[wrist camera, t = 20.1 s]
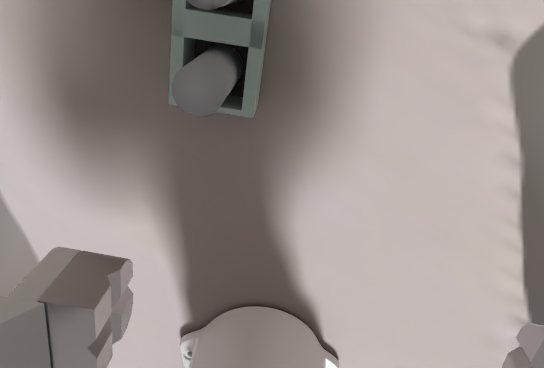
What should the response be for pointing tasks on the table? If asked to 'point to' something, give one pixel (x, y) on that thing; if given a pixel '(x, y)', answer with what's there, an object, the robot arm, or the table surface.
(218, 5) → the grey metal cylinder
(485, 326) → the table surface
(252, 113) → the rack
